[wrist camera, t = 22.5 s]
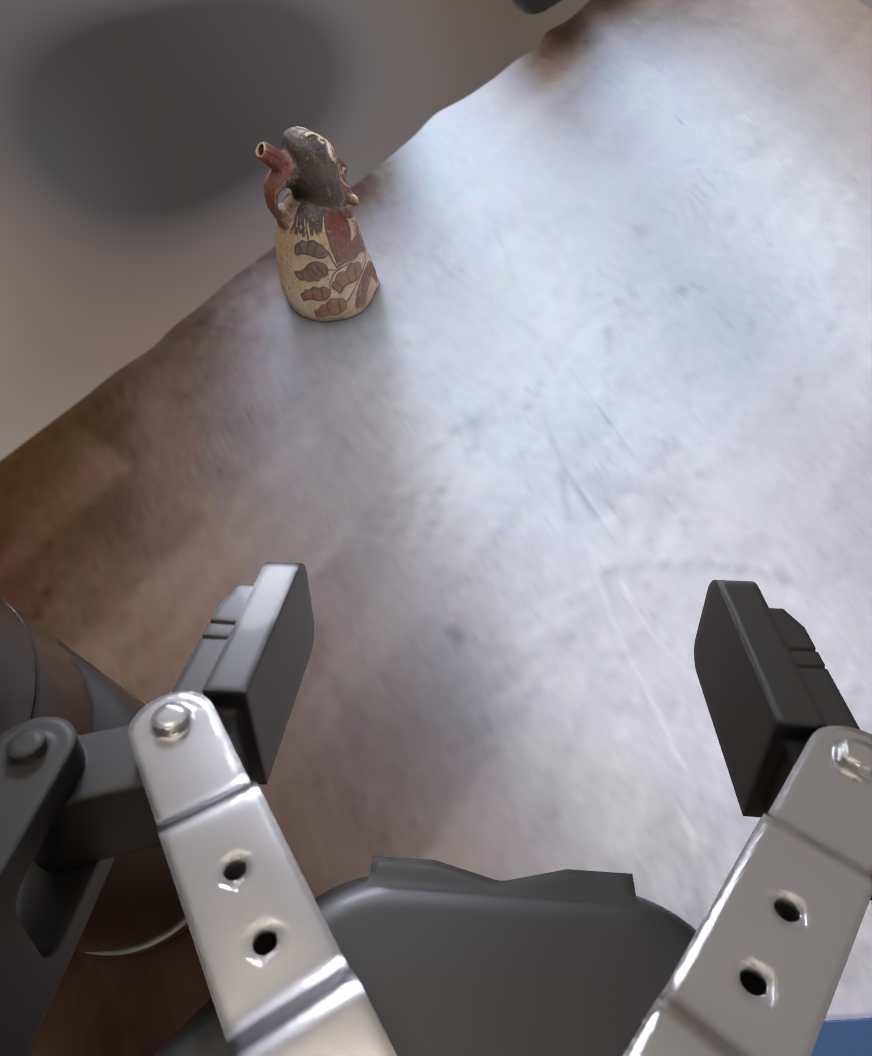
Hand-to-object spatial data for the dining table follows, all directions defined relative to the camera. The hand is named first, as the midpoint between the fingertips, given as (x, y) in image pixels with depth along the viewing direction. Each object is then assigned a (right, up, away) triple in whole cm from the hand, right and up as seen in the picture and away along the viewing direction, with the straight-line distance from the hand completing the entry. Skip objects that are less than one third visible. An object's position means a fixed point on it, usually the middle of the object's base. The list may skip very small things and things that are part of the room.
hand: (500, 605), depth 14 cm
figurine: (-9, +19, +39) cm, 45 cm away
